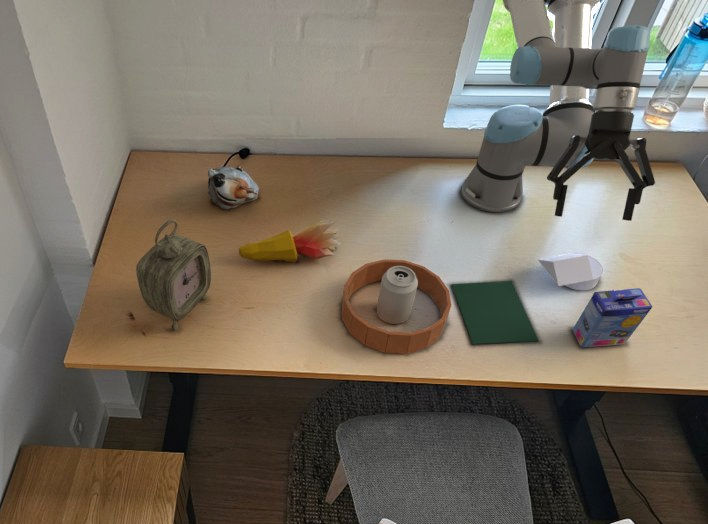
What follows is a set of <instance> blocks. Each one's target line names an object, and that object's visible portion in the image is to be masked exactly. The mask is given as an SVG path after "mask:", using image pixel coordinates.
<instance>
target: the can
mask: <svg viewBox="0 0 708 524" xmlns="http://www.w3.org/2000/svg"><path fill="white" fill-rule="evenodd" d="M417 286H418V280H417V278H416V275H415V273H414V272H413V271H412V270H411V269H410V268H408V267H405V266H394V267H391V268H390V269H388V270H387V272H386V273H385V274H384V275H383V277H382V280H381V281H380V286H379V287H380V288H379V293H378V299H377V304H376V314H377V316H378V317H379V318H380V320H382V321H384V322H385V323H388V324H392V325H398V324H403V323H405V322H407V321H408V320H409V319H410V317H411V314H412V310H413V305H414V302H415V298H416V294H417V290H418V287H417Z"/></svg>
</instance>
